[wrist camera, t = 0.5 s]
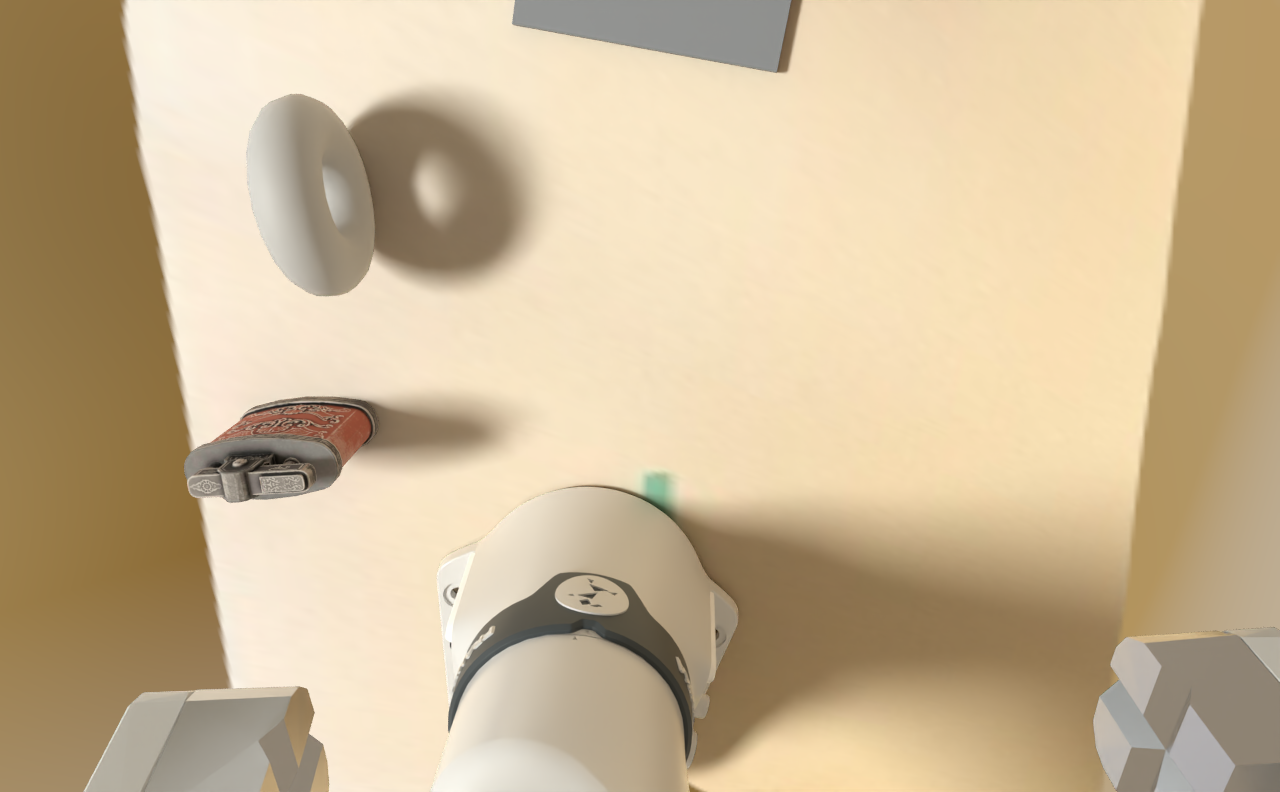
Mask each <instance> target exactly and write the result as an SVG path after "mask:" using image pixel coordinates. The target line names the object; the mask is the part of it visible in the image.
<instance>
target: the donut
mask: <svg viewBox="0 0 1280 792" xmlns="http://www.w3.org/2000/svg"><path fill="white" fill-rule="evenodd" d="M246 157H247V183H248V189H249V194H250V199H251V204H252V210H253V213H254V216H255V219H256V222H257V225H258V228H259V231H260V234H261V236H262V238H263V240H264V242H265V244H266V246H267V248H268V250H269V252H270V254H271V256H272V258H273V260H274V262H275V263H276V265H277V266H278V267H279V268H280V270H281V271H282V272H283V273H284V275H285V276H286V277H287V278H288V279H289V280H290V281H291V282H293V283H294V284H295V285H297V286H298V287H300V288H301V289H303V290H305V291H306V292H308V293H310V294H313V295H316V296H336V295H341V294H345V293H348V292H349V291H351V290H352V289H353V288H355V287H356V286H357V285H358V284H359V283H360V281H361V280H362V279H363V278H364V276H365V275H366V273H367V272H368V270H369V267H370V263H371V260H372V256H373V251H374V241H375V220H374V208H373V202H372V196H371V191H370V186H369V182H368V178H367V175H366V171H365V168H364V164H363V162H362V159H361V157H360V154H359V151H358V149H357V146H356V144H355V142H354V140H353V139H352V137H351V135H350V133H349V132H348V130H347V128H346V126H345V125H344V123H343V122H342V120H341V119H340V118H339V117H338V116H337V115H336V114H335V113H334V111H333V110H332V109H331V108H329V107H328V106H327V105H325V104H324V103H322V102H320V101H318V100H316V99H313V98H311V97H308V96H305V95H302V94H290V95H287V96H284V97H281V98H279V99H276V100H274V101H271V102H269V103H268V104H267V105H266V106H264V107H263V108H262V109H261V111H260V113H259V115H258V117H257V119H256V120H255V122H254V124H253V126H252V128H251V130H250V134H249V140H248V146H247V152H246Z"/></svg>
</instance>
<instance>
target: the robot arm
mask: <svg viewBox="0 0 1280 792" xmlns="http://www.w3.org/2000/svg"><path fill="white" fill-rule="evenodd" d="M437 587H438V597H439V607H440V618H441V628H442V638H443V649H444V659H445V670H446V680H447V690H448V701H449V717H448V731H449V735H448V738H447V741H446V744H445V747H444V750H443V753H442V756H441V759H440V763H439V766H438V769H437V772H436V775H435V778H434V781H433V784H432V787H431V790H430V792H689V785H688V778H687V769H688V768H689V767H690V765H691V763H692V761H693V758H694V755H695V751H696V747H697V732H695V731H694V730H693V724H694V717H696V718H700V719H704V718H705V716H706V714H707V711H708V708H709V703H710V697H709V696H708V695H706V692H707V690H708V687H709V685H710V683H711V682H713V681H714V678H715V674H716V670H717V668H718V666H719V664H720V662H721V660H722V657H723V655H724V653H725V651H726V649H727V647H728V645H729V642H730V640H731V638H732V636H733V634H734V632H735V630H736V627H737V624H738V607H737V605H736V603H735V602H734V601H733V599H732V598H731V597H730V596H729V595H728V594H727V593H726V592H725V591H724V590H723V589H721V588H720V587H719V586H718V585H717V584H716V583H714V582H713V581H712V580H711V579H710V578H709V577H708V576H707V574H706V573H705V571H704V569H703V567H702V565H701V563H700V561H699V558H698V556H697V554H696V552H695V550H694V548H693V546H692V544H691V543H690V541H689V540H688V538H687V537H686V535H685V534H684V533H683V531H682V530H681V529H680V528H679V527H678V526H677V524H676V523H675V522H674V521H672V520H671V519H670V518H669V517H668V516H667V515H666V514H664V513H663V512H662V511H660V510H659V509H658V508H656V507H655V506H653V505H651V504H650V503H648V502H646V501H644V500H642V499H640V498H638V497H635V496H633V495H630V494H627V493H624V492H621V491H617V490H612V489H607V488H600V487H572V488H565V489H560V490H555V491H552V492H548V493H545V494H543V495H540V496H537V497H535V498H533V499H531V500H529V501H527V502H525V503H524V504H522V505H520V506H519V507H517V508H516V509H514V510H513V511H512V512H510V513H509V514H508V515H507V516H506V517H505V518H504V519H503V520H502V521H501V522H500V523H499V524H498V525H497V526H496V527H495V528H494V529H493V530H492V531H491V532H490V533H489V534H488V535H486V536H485V537H484V538H483V539H481V540H480V541H478V542H475V543H473V544H470V545H467V546H465V547H462V548H460V549H458V550H456V551H454V552H452V553H450V554H448V555H447V556H446V557H444V558H443V559H442V561H441V562H440V565H439V568H438V572H437ZM456 587H458V588H459V590H458V593H455V592H454V591H453V588H456ZM715 629H716V630H718V632H717V633H716V634H715ZM1110 666H1111V667H1112V669H1113V671H1114V672H1115V674H1116V675H1117V676H1118V678H1119V680H1118V681H1117V682H1116V683H1115V684H1113V685H1112V686H1111V687H1110V688H1109V689H1108V690H1106V691H1105V692H1104V693H1103V694H1102V695H1100V696H1099V700H1098V704H1097V707H1096V711H1095V715H1094V718H1093V725H1094V735H1095V745H1096V749H1097V752H1098V755H1099V758H1100V760H1101V763H1102V766H1103V769H1104V770H1105V772H1106V774H1107V776H1108V777H1109V779H1110V781H1111V783H1112V784H1113V786H1114V788H1115V789H1116V791H1117V792H1280V630H1279V629H1277V628H1275V627H1269V628H1255V629H1239V630H1226V631H1222V632H1219V631H1206V632H1191V633H1178V634H1163V635H1148V636H1135V637H1126V638H1125V639H1124V640H1123V641H1122V642H1121V643H1120V644H1119V645H1118V646H1116V649H1115V652H1114V655H1113V657H1112V660H1111V663H1110ZM314 713H315V712H314V709H313V706H312V703H311V699H310V696H309V693H308V690H307V689H306V688H303V687H299V686H296V687H266V688H237V689H208V690H196V691H177V692H146V693H142V694H141V695H140V696H139V697H138V698H137V699H136V700H134V701H133V702H132V703H131V704H130V705H129V706H128V708H127V710H126V712H125V714H124V715H123V717H122V719H121V721H120V723H119V725H118V727H117V729H116V731H115V733H114V735H113V736H112V739H111V740H110V742H109V744H108V746H107V748H106V750H105V752H104V754H103V756H102V758H101V760H100V761H99V763H98V765H97V767H96V769H95V771H94V773H93V775H92V777H91V779H90V781H89V783H88V784H87V786H86V788H85V790H84V792H329V777H328V764H327V759H326V755H325V750H324V746H323V744H322V743H321V742H319V741H318V740H317V739H315V738H314V737H313V736H311V735H310V734H309V731H310V727H311V724H312V720H313V717H314Z"/></svg>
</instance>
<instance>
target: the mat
mask: <svg viewBox="0 0 1280 792" xmlns="http://www.w3.org/2000/svg"><path fill="white" fill-rule="evenodd" d="M790 4H791V0H515V6H514V14H513V22H512V24H513V25H517V26H522V27H528V28H533V29H539V30H544V31H550V32H555V33H561V34H566V35H572V36H577V37H583V38H588V39H594V40H599V41H605V42H610V43H616V44H621V45H627V46H632V47H638V48H643V49H648V50H654V51H659V52H665V53H670V54H676V55H681V56H687V57H692V58H698V59H703V60H709V61H714V62H720V63H725V64H731V65H736V66H742V67H747V68H753V69H758V70H764V71H769V72H775V73H776V72H777V69H778V64H779V59H780V54H781V49H782V44H783V39H784V34H785V29H786V24H787V19H788V14H789V9H790Z"/></svg>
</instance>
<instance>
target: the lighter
mask: <svg viewBox="0 0 1280 792" xmlns="http://www.w3.org/2000/svg"><path fill="white" fill-rule="evenodd" d="M377 430H378V417H377V414H376V412H375V411H374V409H373V408H372V407H371V406H370V405H369V404H368V403H366V402H364V401H361V400H354V399H346V398H338V397H300V398H292V399H285V400H278V401H274V402H271V403H267V404H263V405H259V406H255V407H253V408H251V409H250V410H248V411H247V412H246V413H244V415H243V416H242V417H241V418H240V421H239V422H238V423H236V424H235V425H234V426H232V427H231V428H230V429H228V430H227V431H226V432H224V433H223V434H222V435H220V436H219V437H218V438H216V439H215V440H213V441H212V442H211V443H207V444H204V445H202V446H200V447H198V448H196V449H195V450H193V451H192V452H191V453H190V454H189V455H188V457H187V458H186V461H185V465H184V468H185V469H184V470H185V476H186V478H187V485H188V490H189V492H190V494H191V495H192V496H194V497H196V498H206V497H223V499H225V500H226V501H227V502H230V503H233V502H243V501H247V500H249V499H275V498H283V497H291V496H298V495H302V494H306V493H310V492H315V491H319V490H323V489H325V488H328V487H330V486H331V485H332V484H333V483H334V481H335V480H336V479H337V478H338V477H339V476H340V473H341V470H342V467H343V466H344V465H345V464H346V462H347V461H348V460H349V459H350V458H351V457H352V456H353V455H354V453H355V452H356V451H357V450H358V449H359V448H360V447H361V446H364V445H366V444H368V442H369V441H370V440H371V439H372V438H373V437H374V436H375V434H376V432H377Z"/></svg>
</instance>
